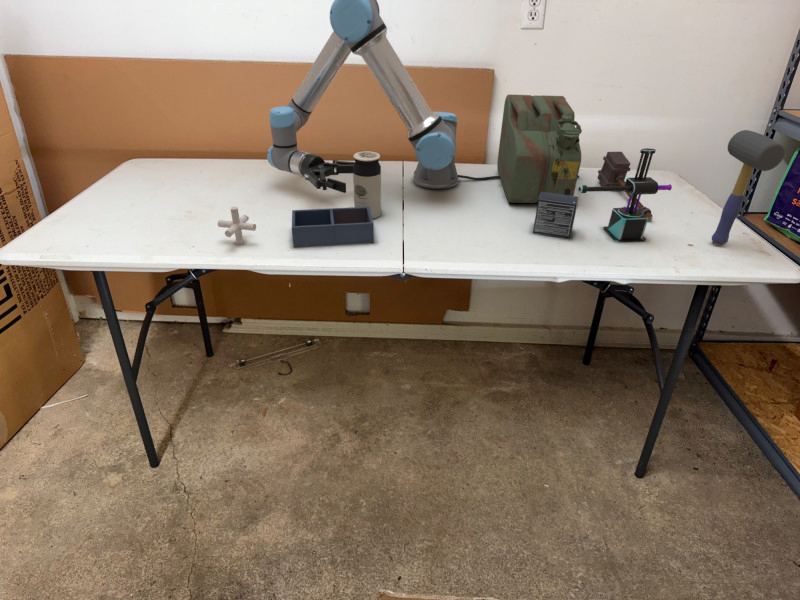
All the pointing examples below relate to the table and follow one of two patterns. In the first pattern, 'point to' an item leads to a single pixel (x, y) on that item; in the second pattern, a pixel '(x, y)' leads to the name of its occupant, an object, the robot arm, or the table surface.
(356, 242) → the divided storage bin
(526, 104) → the fuel can
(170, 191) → the table surface
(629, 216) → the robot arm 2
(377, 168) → the travel mug
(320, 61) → the robot arm
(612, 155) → the hammer
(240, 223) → the pipe connector
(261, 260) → the table surface
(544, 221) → the small box
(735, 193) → the rubber mallet
